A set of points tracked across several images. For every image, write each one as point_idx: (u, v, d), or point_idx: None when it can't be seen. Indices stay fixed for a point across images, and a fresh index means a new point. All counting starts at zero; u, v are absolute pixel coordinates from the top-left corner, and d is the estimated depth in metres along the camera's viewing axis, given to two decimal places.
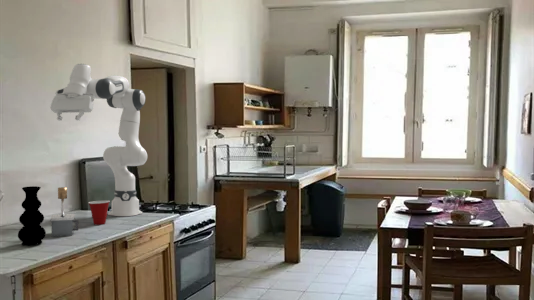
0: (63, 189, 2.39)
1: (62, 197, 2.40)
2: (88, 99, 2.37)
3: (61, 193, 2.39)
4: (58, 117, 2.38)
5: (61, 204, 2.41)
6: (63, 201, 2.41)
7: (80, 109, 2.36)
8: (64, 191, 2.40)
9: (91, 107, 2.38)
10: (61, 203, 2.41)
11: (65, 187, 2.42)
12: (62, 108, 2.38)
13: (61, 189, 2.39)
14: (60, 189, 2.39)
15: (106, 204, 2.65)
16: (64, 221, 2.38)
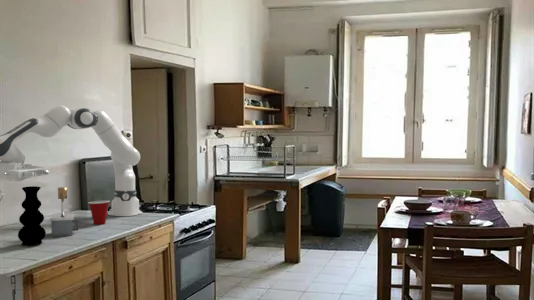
0: (63, 189, 2.39)
1: (62, 197, 2.40)
2: (10, 178, 2.38)
3: (61, 193, 2.39)
4: None
5: (61, 204, 2.41)
6: (63, 201, 2.41)
7: (24, 177, 2.40)
8: (64, 191, 2.40)
9: (13, 173, 2.36)
10: (61, 203, 2.41)
11: (65, 187, 2.42)
12: (37, 175, 2.49)
13: (61, 189, 2.39)
14: (60, 189, 2.39)
15: (106, 204, 2.65)
16: (64, 221, 2.38)
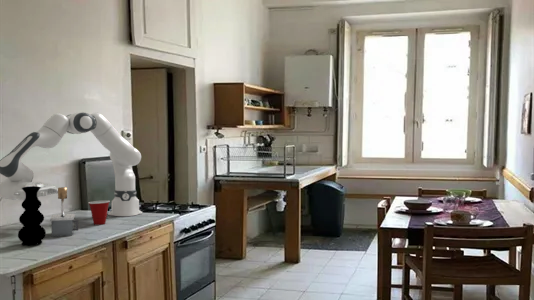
0: (63, 189, 2.39)
1: (62, 197, 2.40)
2: (21, 198, 2.37)
3: (61, 193, 2.39)
4: None
5: (61, 204, 2.41)
6: (63, 201, 2.41)
7: None
8: (64, 191, 2.40)
9: (24, 194, 2.35)
10: (61, 203, 2.41)
11: (65, 187, 2.42)
12: (47, 194, 2.48)
13: (61, 189, 2.39)
14: (60, 189, 2.39)
15: (106, 204, 2.65)
16: (64, 221, 2.38)
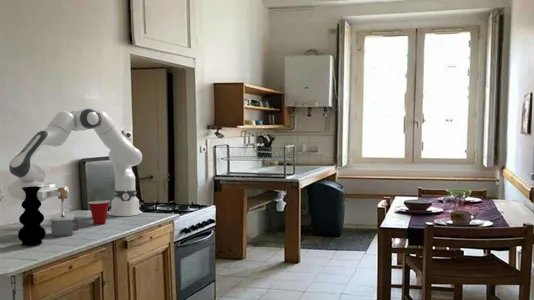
0: (63, 189, 2.39)
1: (62, 197, 2.40)
2: None
3: (61, 193, 2.39)
4: None
5: (61, 204, 2.41)
6: (63, 201, 2.41)
7: (47, 197, 2.37)
8: (64, 191, 2.40)
9: (37, 194, 2.33)
10: (61, 203, 2.41)
11: (65, 187, 2.42)
12: None
13: (61, 189, 2.39)
14: (60, 189, 2.39)
15: (106, 204, 2.65)
16: (64, 221, 2.38)
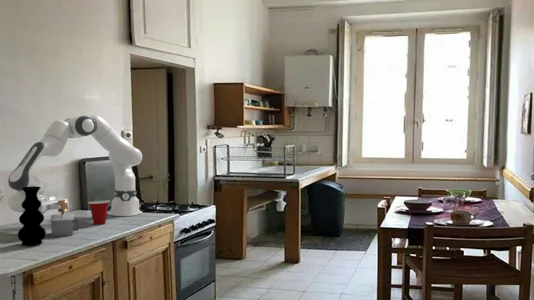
0: (63, 202, 2.40)
1: (62, 210, 2.40)
2: None
3: (61, 206, 2.40)
4: None
5: None
6: (63, 214, 2.42)
7: (47, 210, 2.37)
8: (64, 204, 2.40)
9: None
10: (61, 216, 2.41)
11: (65, 200, 2.42)
12: None
13: (61, 202, 2.40)
14: (60, 202, 2.40)
15: (106, 204, 2.65)
16: (64, 221, 2.38)
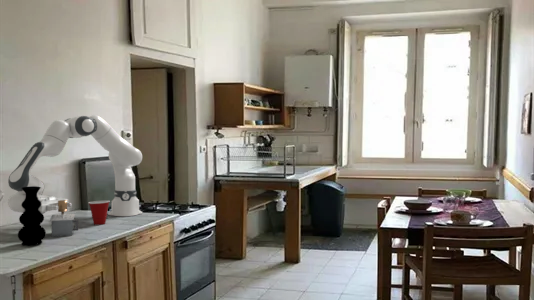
0: (63, 202, 2.40)
1: (62, 210, 2.40)
2: None
3: (61, 206, 2.40)
4: (69, 206, 2.46)
5: None
6: (63, 214, 2.42)
7: (47, 210, 2.37)
8: (64, 204, 2.40)
9: None
10: (61, 216, 2.41)
11: (65, 200, 2.42)
12: None
13: (61, 202, 2.40)
14: (60, 202, 2.40)
15: (106, 204, 2.65)
16: (64, 221, 2.38)
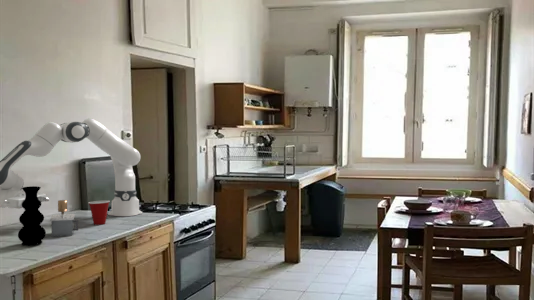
0: (63, 202, 2.40)
1: (62, 210, 2.40)
2: (10, 206, 2.39)
3: (61, 206, 2.40)
4: None
5: None
6: (63, 214, 2.42)
7: None
8: (64, 204, 2.40)
9: (14, 202, 2.37)
10: (61, 216, 2.41)
11: (65, 200, 2.42)
12: None
13: (61, 202, 2.40)
14: (60, 202, 2.40)
15: (106, 204, 2.65)
16: (64, 221, 2.38)
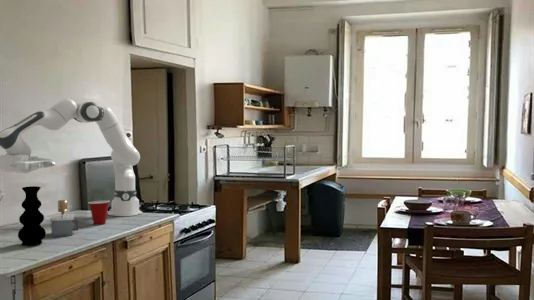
0: (63, 202, 2.40)
1: (62, 210, 2.40)
2: (17, 169, 2.41)
3: (61, 206, 2.40)
4: None
5: None
6: (63, 214, 2.42)
7: (30, 168, 2.43)
8: (64, 204, 2.40)
9: (20, 165, 2.39)
10: (61, 216, 2.41)
11: (65, 200, 2.42)
12: (43, 167, 2.52)
13: (61, 202, 2.40)
14: (60, 202, 2.40)
15: (106, 204, 2.65)
16: (64, 221, 2.38)
